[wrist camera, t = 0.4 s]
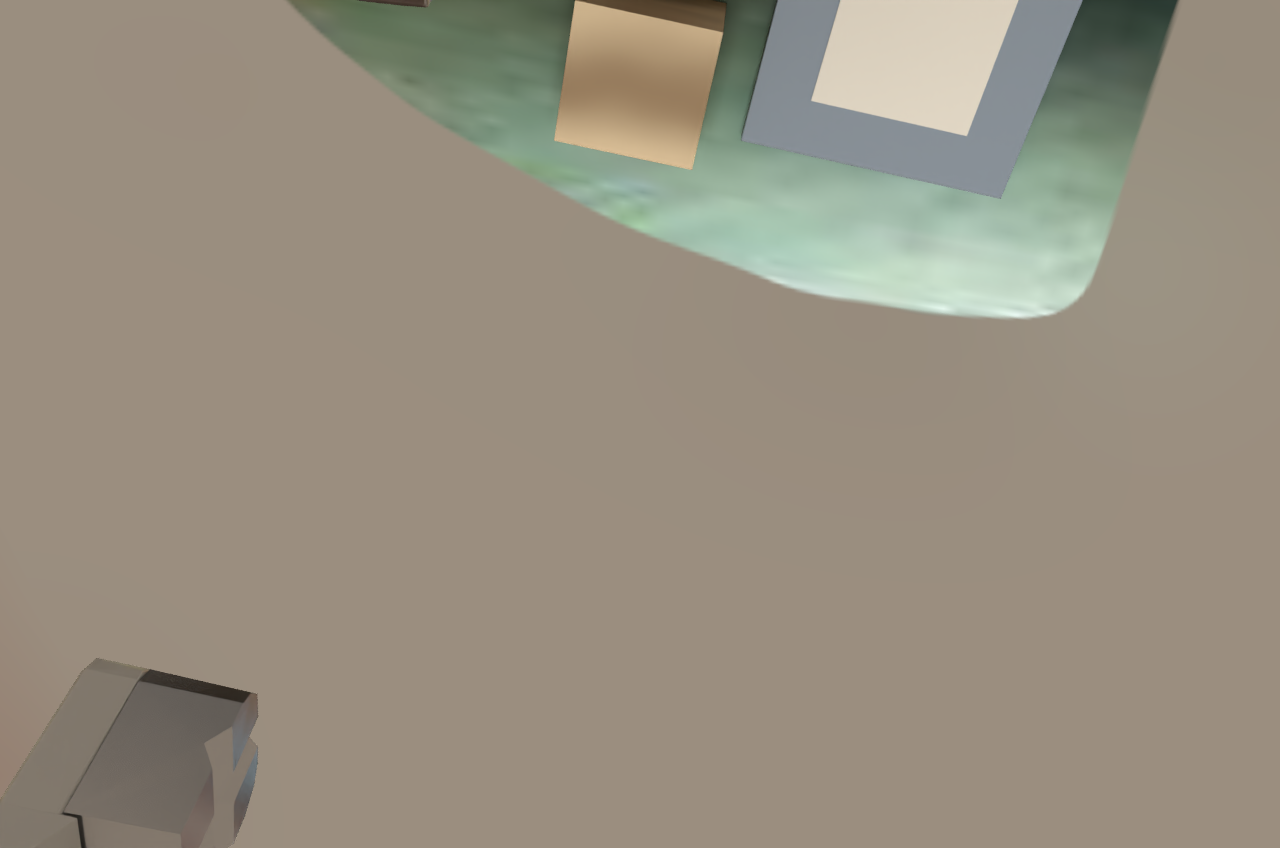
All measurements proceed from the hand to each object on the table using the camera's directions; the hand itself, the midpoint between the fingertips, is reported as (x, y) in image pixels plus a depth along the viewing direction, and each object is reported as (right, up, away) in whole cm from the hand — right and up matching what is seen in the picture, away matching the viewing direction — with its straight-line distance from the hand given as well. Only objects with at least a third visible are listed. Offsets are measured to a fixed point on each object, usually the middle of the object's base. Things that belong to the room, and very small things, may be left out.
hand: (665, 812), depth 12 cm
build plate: (+11, +20, +39) cm, 45 cm away
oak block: (0, +20, +41) cm, 46 cm away
